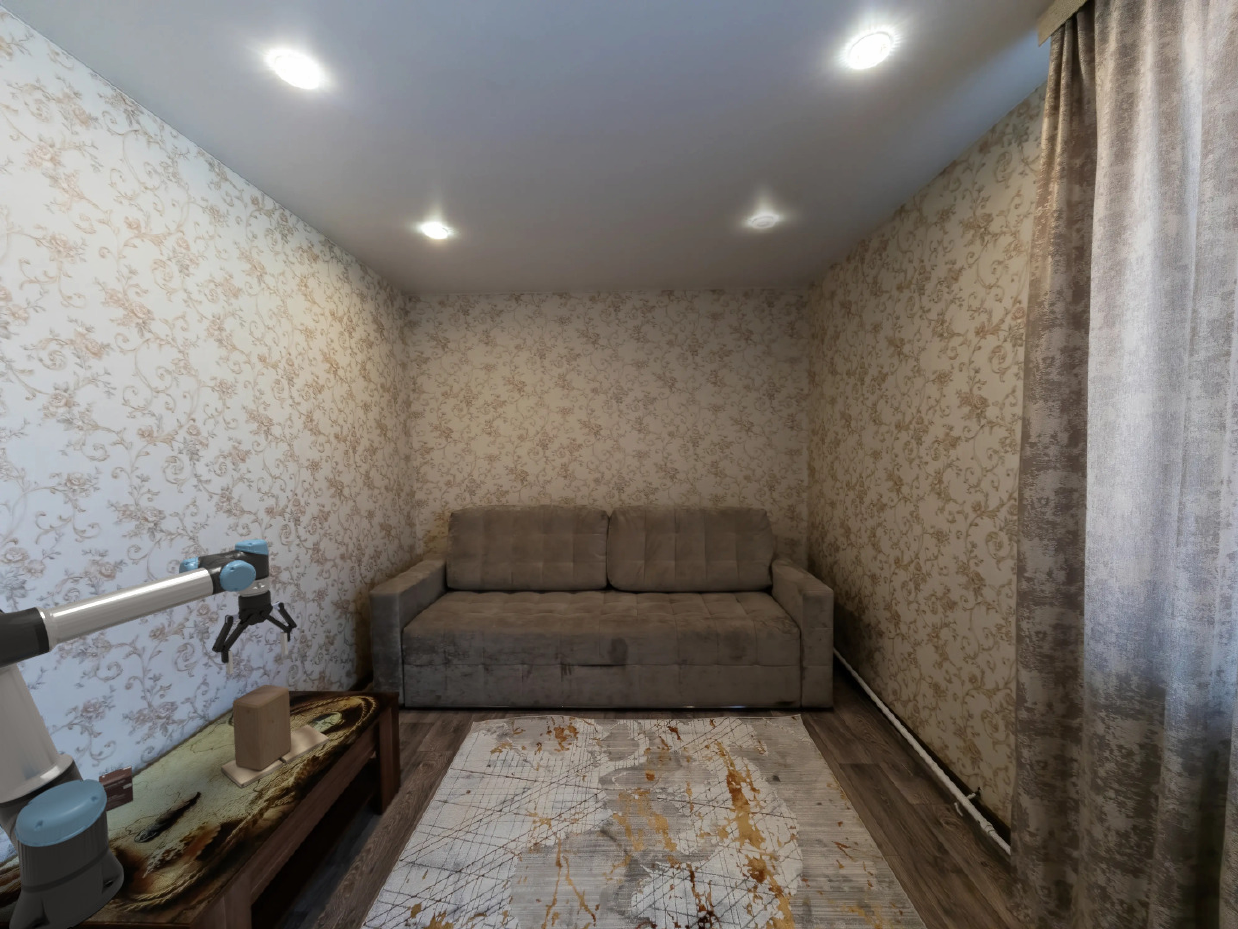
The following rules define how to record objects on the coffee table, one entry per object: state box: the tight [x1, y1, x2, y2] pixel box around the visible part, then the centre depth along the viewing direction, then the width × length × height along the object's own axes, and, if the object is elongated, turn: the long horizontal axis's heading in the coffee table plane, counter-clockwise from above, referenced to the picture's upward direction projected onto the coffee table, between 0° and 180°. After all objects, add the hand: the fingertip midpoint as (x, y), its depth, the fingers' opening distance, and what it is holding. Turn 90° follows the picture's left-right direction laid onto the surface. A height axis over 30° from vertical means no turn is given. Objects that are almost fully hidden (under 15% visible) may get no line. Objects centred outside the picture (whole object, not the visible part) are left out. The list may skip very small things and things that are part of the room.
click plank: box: [220, 758, 284, 789], centre depth 134 cm, size 10×14×1 cm
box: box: [98, 765, 134, 812], centre depth 122 cm, size 6×6×7 cm
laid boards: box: [278, 724, 330, 765], centre depth 145 cm, size 12×14×1 cm
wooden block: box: [232, 684, 292, 770], centre depth 137 cm, size 10×10×20 cm
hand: (258, 662), depth 135 cm, fingers open, 13 cm apart
